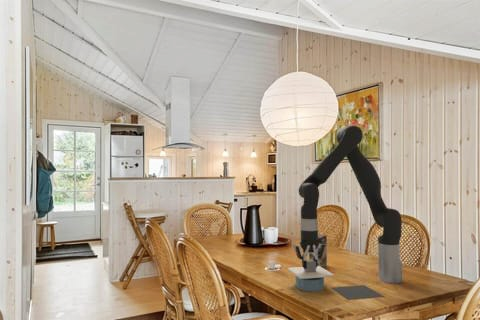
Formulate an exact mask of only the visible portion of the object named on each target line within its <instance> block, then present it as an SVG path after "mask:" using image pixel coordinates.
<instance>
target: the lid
mask: <svg viewBox="0 0 480 320" xmlns="http://www.w3.org/2000/svg"><path fill="white" fill-rule="evenodd" d="M306 261H307V262H306V267H307V269H304V268H303V267H302V266H297V267H296V266H295V267H288V268H287V270H288V271H289V272H290V273H292V274H293V275H294V276H295V277H296V276H297V277H298V278H299V279H307V278H321V277H324V278H330V277H334V275H335V274H334V273H332V272H330V271H328V270H326V269H325V267H323V268H322V267H320V266H317V268H316V261H314V260H313V259H311V260H309V259H306Z"/></svg>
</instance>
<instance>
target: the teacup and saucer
mask: <svg viewBox="0 0 480 320" xmlns="http://www.w3.org/2000/svg"><path fill="white" fill-rule="evenodd" d="M281 268H282V265H281V264H276V261H275V260H274V261H273V260H270V261H268V263H267V267H265V268H264V270H265V271H271V272H276V271H280V270H281Z"/></svg>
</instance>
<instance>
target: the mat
mask: <svg viewBox="0 0 480 320" xmlns="http://www.w3.org/2000/svg"><path fill="white" fill-rule="evenodd" d="M330 289H331V290H333V291H334V292H336V293H337V294H339V295H340V296H342V297H343V298H344V299H346V300H347V301H351V300H352V301H354V300H365V299H366V300H367V299H377V298H379V299H380V298H386V297H385V296H384V295H383V294H381V293H379V292H377V291H376V290H374V289H373V288H370V287H369V286H367V285H365V284H360V285H359V284H358V285H349V286H347V285H346V286H345V285H344V286H333V287H330Z"/></svg>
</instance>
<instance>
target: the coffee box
mask: <svg viewBox="0 0 480 320" xmlns="http://www.w3.org/2000/svg"><path fill="white" fill-rule="evenodd" d="M327 237H328V236H327V235H321V234H318V242H319V244H323V245H325V248H324V251H323V255H322V258H319V259H318V266H320V267H322V268H325V267H327V266H328V249H327V247H328V245H327V241H328V240H327ZM318 250H319V246H318V247H317V249H316V251H317V254H318ZM308 255H309V256H308V257H309V258H308V260H311V259H314V258H313V255H312V252H309V253H308Z"/></svg>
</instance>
